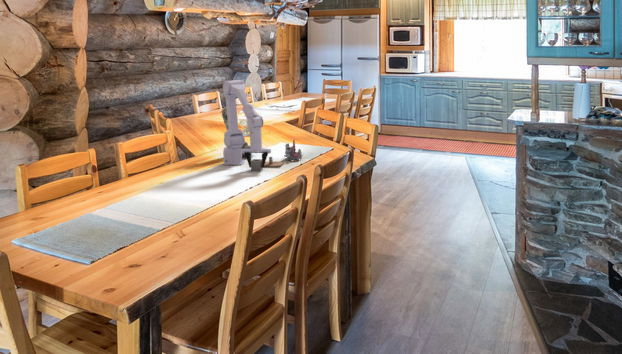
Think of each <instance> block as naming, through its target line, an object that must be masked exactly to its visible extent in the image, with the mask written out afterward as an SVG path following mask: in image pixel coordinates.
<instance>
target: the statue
mask: <svg viewBox="0 0 622 354" xmlns="http://www.w3.org/2000/svg"><path fill="white" fill-rule="evenodd" d="M220 113H221V116H222V119H223V123H224V125H225V129H226V131H227V130H228V129H229V127H228V117H227V108H226V106H224V107H223V109H222V110H221V112H220ZM239 129H240V130H241V131H242V129H241V128H239ZM231 135H236V134H231ZM242 149H250V145H249V144H248V142H246V141H245V142H244V145H243V147H242ZM242 157H245V153H242Z"/></svg>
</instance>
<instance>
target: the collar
mask: <svg viewBox="0 0 622 354" xmlns="http://www.w3.org/2000/svg"><path fill="white" fill-rule="evenodd" d="M263 169H264V168H262V158H258V159H257V158H256V159H255V158H253V159H251V168H250V172H261V170H263Z"/></svg>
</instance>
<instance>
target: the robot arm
mask: <svg viewBox="0 0 622 354" xmlns="http://www.w3.org/2000/svg"><path fill="white" fill-rule="evenodd" d="M222 93H223V97H225V105H226V106H225V107H226V108H227V117H228V127H229V129H228V130H227V129H226V131H225V132H224V133H223V135H224V137H223V143H224V146H225V147H224V148H223V165H224V166H227V165H228V166H240V165H243V164H244V163H245V161H244V160H243V156H242V153H245V155H244V157H245V158H246V161H247V163H248V167H249V168H250V169H251V161H252V154H261V159H262V168H263V169H264V168H266V167H265V162H267V161H266V160H267V158H268V155H269V154H271V153H272V149H271V148H263V145H262V144H263V143H262V142H263V141H262V128H263V127H264V119H263V117H262V116H261V115H260V114H259V113H258V112H257V111H256V109H255V107H254V105H253V104H252V103H250V101H249V99H248V96H247V93H246V84H245V81H244V80H243V79H233V80H225V81H223V84H222ZM237 98H238V100H239V102H240V104H241V106H242V112H243V113H244V116H245V118H246V120H247V121H246V124H247V127H248V128H247V129H248V132H249V143H250V144H249V146H250V149H242V147H243V145H244V142H246V139H245V136H244V132H243V130H242V129H241V128H239V119H238V111H237V109H238V108H237V101H236V99H237ZM240 129H241V130H240ZM231 134H236V135H231Z"/></svg>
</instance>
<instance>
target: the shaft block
mask: <svg viewBox="0 0 622 354" xmlns="http://www.w3.org/2000/svg"><path fill="white" fill-rule="evenodd" d="M273 160H274V159H273V156H269V157H268V161H265V167H264V168H266V167H281V166H282V167H283V166H284V165H285V162H284V161H273ZM282 167H281V168H282Z"/></svg>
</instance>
